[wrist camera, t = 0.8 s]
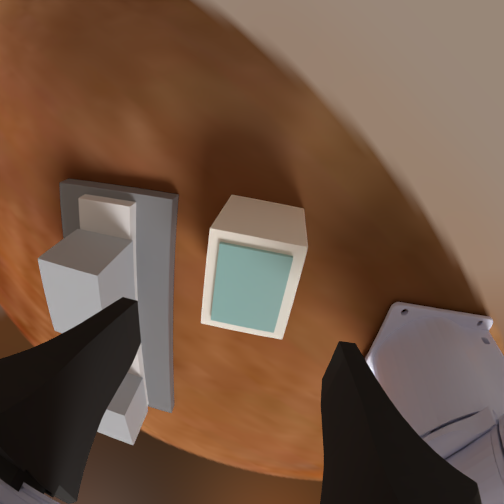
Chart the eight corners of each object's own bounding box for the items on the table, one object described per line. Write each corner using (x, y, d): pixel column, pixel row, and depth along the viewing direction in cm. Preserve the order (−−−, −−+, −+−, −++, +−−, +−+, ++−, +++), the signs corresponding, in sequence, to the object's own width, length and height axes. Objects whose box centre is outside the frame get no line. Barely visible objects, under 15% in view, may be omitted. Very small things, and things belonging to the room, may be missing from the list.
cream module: (303, 208, 17) (308, 249, 12) (285, 284, 19) (281, 342, 15) (231, 194, 17) (208, 230, 13) (221, 272, 19) (199, 325, 15)
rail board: (178, 194, 17) (132, 234, 12) (174, 405, 26) (156, 454, 21) (68, 178, 18) (7, 208, 13) (99, 380, 27) (74, 423, 22)
